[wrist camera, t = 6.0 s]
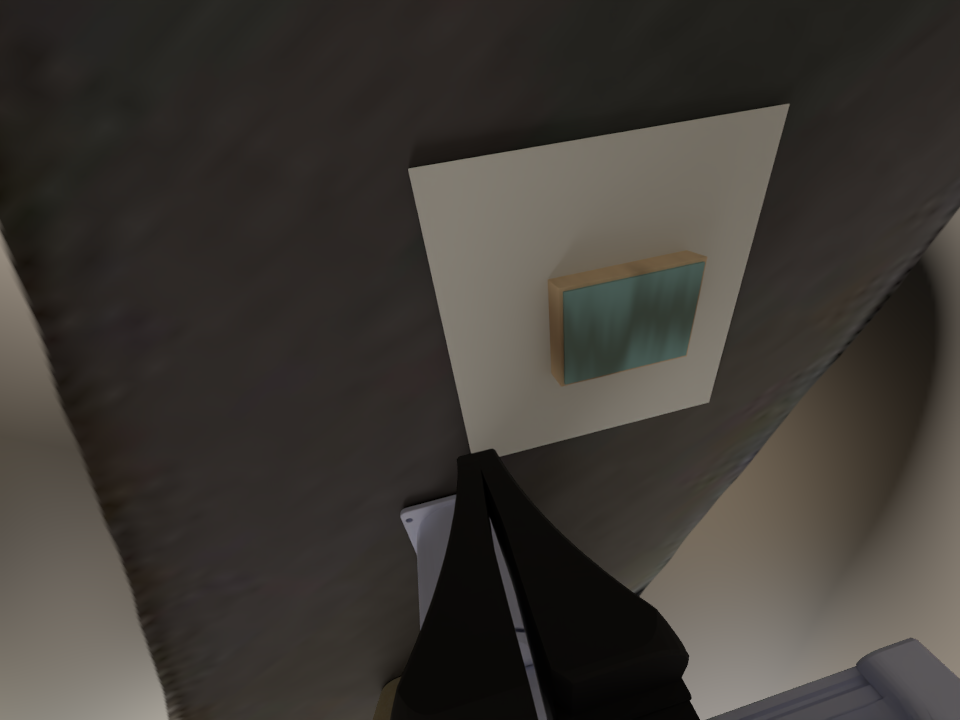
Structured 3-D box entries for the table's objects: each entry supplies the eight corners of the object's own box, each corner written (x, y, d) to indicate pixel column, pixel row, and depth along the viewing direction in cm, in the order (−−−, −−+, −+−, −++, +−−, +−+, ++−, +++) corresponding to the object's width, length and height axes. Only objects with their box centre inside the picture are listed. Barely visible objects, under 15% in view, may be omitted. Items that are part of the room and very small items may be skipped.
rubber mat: (703, 398, 26) (708, 402, 25) (472, 458, 24) (473, 463, 24) (779, 105, 16) (789, 103, 16) (407, 168, 15) (408, 168, 14)
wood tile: (551, 373, 21) (670, 344, 22) (561, 388, 20) (688, 357, 20) (547, 279, 18) (686, 250, 19) (560, 289, 17) (709, 257, 17)
